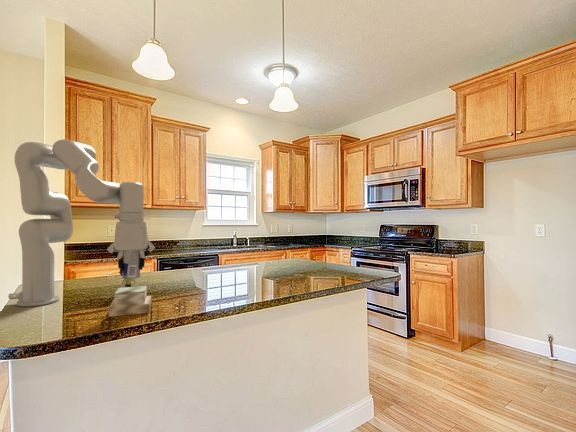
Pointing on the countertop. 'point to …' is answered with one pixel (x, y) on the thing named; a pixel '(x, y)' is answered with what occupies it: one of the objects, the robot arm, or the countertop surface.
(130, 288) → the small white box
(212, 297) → the countertop surface
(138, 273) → the energy drink
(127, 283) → the toy
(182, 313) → the countertop surface
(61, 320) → the countertop surface
